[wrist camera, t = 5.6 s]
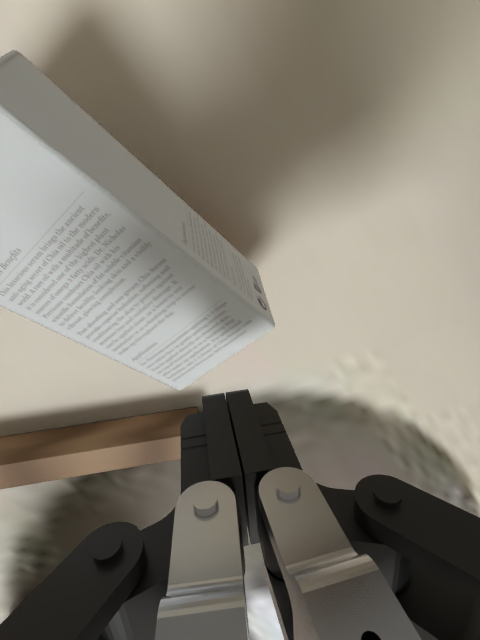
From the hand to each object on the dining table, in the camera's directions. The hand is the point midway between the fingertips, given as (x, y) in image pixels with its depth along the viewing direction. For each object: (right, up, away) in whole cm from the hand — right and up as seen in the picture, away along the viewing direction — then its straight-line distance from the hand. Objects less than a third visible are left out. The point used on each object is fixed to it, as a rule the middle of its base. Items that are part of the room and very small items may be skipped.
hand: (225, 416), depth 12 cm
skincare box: (0, +3, +6) cm, 7 cm away
